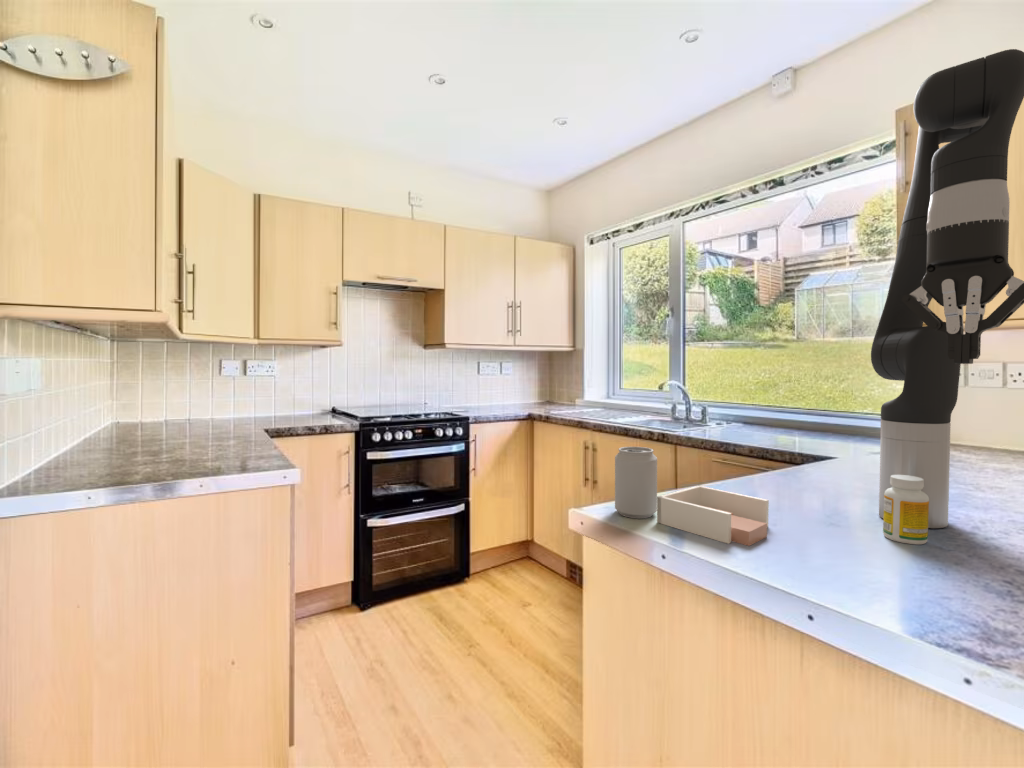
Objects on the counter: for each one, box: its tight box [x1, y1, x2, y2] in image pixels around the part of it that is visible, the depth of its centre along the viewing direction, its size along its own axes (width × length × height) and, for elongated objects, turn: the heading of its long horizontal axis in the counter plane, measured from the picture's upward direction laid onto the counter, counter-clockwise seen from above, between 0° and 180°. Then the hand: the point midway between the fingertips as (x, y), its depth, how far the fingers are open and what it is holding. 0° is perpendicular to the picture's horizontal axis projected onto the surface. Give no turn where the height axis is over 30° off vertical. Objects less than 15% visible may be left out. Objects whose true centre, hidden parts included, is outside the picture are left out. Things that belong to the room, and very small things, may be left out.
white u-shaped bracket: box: [656, 484, 770, 545], centre depth 82 cm, size 13×13×4 cm
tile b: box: [731, 515, 768, 546], centre depth 77 cm, size 6×6×2 cm
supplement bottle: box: [882, 475, 929, 545], centre depth 75 cm, size 5×5×10 cm
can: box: [614, 446, 658, 519], centre depth 89 cm, size 8×8×12 cm
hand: (963, 363), depth 62 cm, fingers closed
